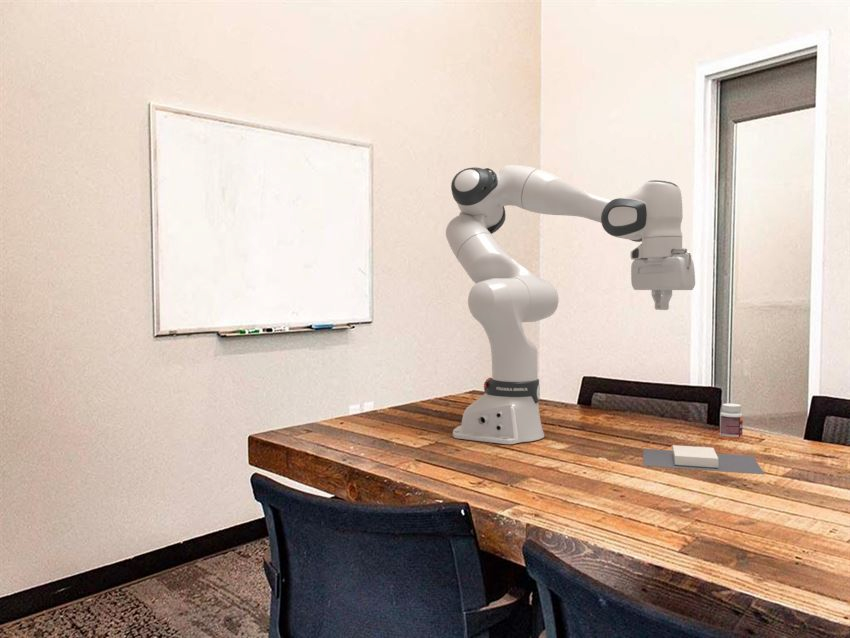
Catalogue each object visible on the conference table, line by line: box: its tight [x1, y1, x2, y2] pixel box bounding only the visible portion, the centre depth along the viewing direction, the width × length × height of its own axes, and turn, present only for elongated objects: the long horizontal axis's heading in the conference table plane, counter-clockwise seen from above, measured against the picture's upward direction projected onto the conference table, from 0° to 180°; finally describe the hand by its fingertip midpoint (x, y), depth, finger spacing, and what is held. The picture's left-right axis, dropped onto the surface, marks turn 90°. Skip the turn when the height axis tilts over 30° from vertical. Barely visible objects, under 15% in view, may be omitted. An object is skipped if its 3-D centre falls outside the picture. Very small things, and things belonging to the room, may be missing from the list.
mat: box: [642, 448, 765, 476], centre depth 134 cm, size 22×14×1 cm, turn 72°
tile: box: [672, 444, 718, 468], centre depth 133 cm, size 8×2×9 cm
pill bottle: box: [719, 403, 744, 441], centre depth 153 cm, size 5×5×8 cm
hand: (661, 309), depth 151 cm, fingers closed
